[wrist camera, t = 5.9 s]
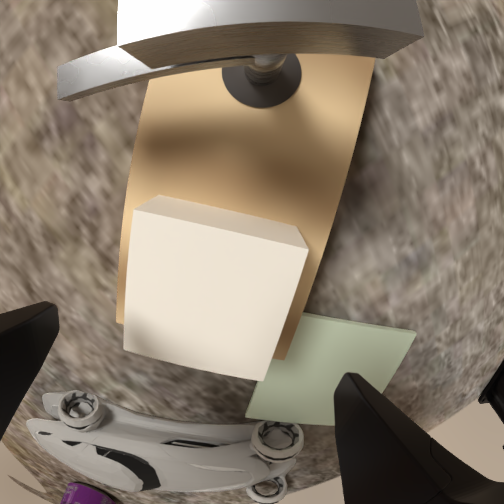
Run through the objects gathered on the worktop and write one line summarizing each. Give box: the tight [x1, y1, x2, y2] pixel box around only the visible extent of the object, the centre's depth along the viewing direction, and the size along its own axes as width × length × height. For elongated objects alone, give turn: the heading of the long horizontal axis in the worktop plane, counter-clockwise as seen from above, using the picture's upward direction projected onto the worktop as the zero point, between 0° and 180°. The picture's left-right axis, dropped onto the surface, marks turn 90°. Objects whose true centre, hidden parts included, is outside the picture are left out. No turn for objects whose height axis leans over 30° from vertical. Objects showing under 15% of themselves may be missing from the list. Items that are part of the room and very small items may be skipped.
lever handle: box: [57, 0, 424, 101], centre depth 7 cm, size 10×2×7 cm, turn 95°
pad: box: [245, 312, 417, 426], centre depth 18 cm, size 9×9×1 cm
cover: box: [124, 195, 309, 381], centre depth 12 cm, size 6×6×3 cm
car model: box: [26, 390, 304, 504], centre depth 19 cm, size 11×24×5 cm, turn 87°
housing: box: [116, 54, 375, 360], centre depth 13 cm, size 16×9×2 cm, turn 166°
